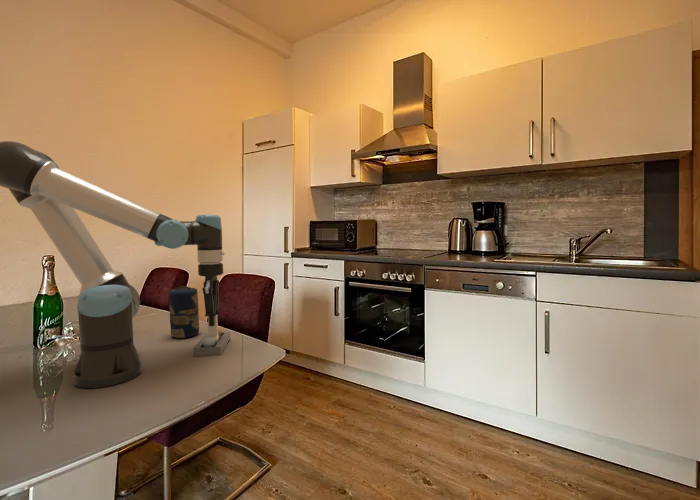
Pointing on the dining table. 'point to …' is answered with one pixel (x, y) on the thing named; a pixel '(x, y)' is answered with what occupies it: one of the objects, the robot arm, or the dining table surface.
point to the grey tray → (214, 350)
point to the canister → (184, 312)
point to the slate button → (209, 341)
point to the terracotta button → (219, 331)
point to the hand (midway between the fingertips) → (213, 334)
